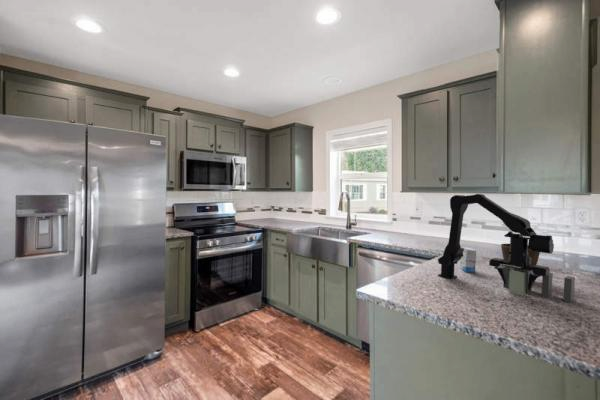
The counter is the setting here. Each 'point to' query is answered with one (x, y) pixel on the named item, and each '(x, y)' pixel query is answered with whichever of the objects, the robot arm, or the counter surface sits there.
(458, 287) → the counter surface
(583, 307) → the counter surface
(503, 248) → the plant pot
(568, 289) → the domino end
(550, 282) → the domino
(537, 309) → the counter surface
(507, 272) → the domino
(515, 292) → the sage domino
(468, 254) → the ink box
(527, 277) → the domino
